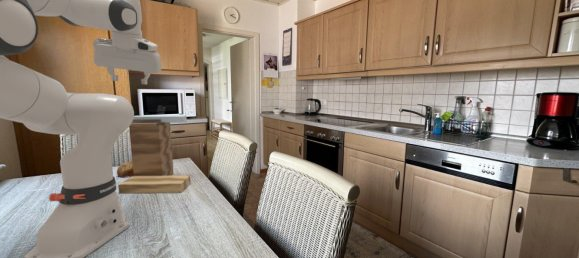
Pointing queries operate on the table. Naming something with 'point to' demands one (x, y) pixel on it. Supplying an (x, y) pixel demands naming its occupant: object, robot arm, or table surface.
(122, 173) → the bread roll
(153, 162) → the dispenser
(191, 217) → the table surface
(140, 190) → the board
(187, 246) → the table surface
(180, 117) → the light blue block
